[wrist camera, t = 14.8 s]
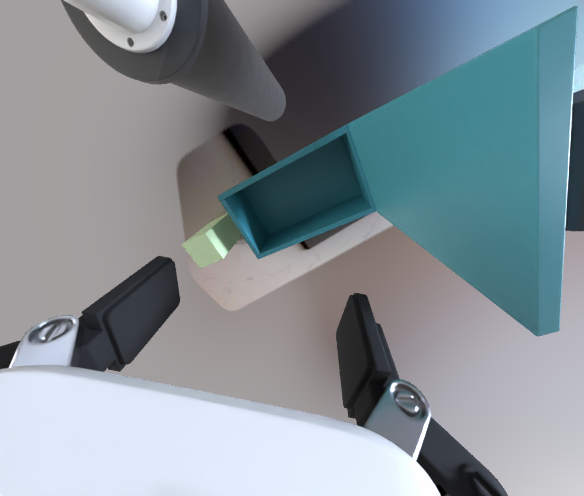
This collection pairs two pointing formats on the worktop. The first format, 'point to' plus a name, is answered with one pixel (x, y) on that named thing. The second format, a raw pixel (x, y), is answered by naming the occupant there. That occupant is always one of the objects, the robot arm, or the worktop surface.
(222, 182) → the worktop surface
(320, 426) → the robot arm
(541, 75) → the lunchbox lid
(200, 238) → the carton
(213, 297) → the worktop surface
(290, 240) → the box
